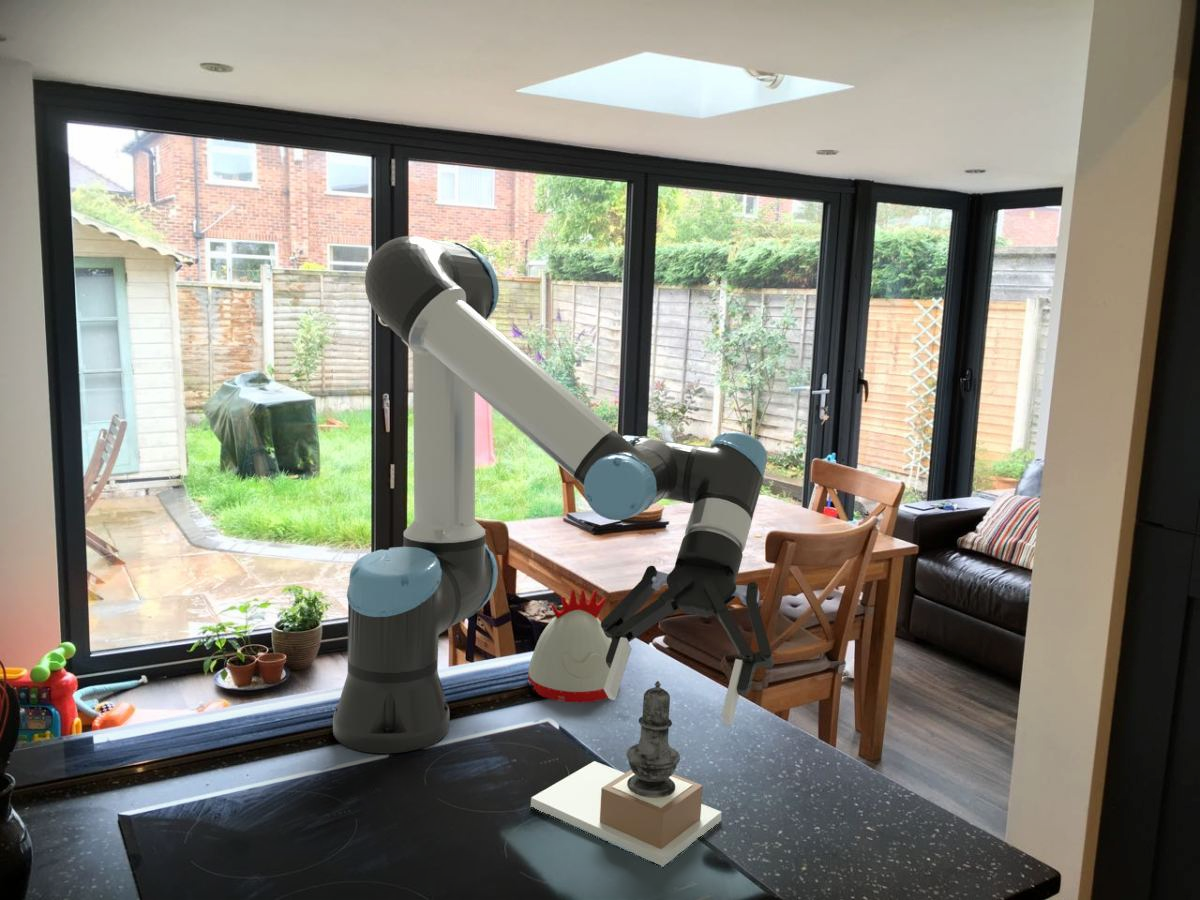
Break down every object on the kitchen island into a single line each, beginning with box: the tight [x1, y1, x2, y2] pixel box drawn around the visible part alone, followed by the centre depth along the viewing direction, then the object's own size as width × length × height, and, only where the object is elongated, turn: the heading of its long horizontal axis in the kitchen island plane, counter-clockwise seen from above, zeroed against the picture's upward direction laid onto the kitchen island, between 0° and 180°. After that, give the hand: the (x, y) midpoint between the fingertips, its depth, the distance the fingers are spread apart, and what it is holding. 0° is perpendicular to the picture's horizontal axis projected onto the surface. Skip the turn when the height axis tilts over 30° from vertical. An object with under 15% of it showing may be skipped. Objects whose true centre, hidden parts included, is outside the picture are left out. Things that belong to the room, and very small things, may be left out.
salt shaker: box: [626, 680, 681, 798], centre depth 103 cm, size 6×6×12 cm
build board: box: [530, 760, 722, 866], centre depth 108 cm, size 18×12×5 cm, turn 53°
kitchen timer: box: [527, 587, 612, 703], centre depth 144 cm, size 14×14×15 cm
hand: (666, 707), depth 104 cm, fingers open, 13 cm apart
